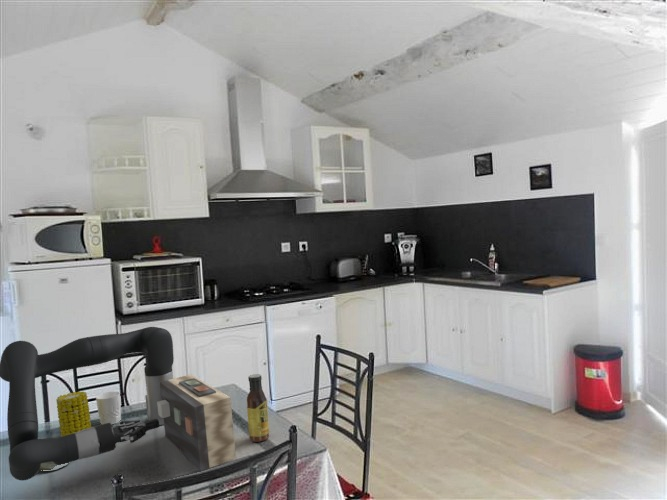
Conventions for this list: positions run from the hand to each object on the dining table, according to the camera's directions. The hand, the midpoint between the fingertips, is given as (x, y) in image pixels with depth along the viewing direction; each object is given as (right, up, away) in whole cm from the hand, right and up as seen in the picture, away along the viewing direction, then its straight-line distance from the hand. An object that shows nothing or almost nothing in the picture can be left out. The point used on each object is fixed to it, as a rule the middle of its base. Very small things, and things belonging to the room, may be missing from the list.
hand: (158, 422), depth 152 cm
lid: (-32, -13, +2) cm, 35 cm away
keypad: (+10, -10, +7) cm, 16 cm away
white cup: (-28, -11, +33) cm, 45 cm away
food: (-36, -12, +24) cm, 45 cm away
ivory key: (-2, -1, +11) cm, 11 cm away
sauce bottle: (+28, -8, +10) cm, 31 cm away
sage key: (+6, -1, +4) cm, 7 cm away
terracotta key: (+11, -1, -4) cm, 12 cm away
